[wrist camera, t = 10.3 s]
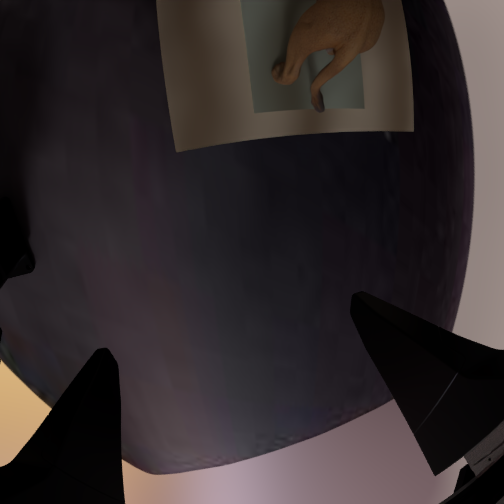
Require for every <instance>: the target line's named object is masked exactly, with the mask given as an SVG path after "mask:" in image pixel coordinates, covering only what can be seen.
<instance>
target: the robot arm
mask: <svg viewBox="0 0 504 504" xmlns="http://www.w3.org/2000/svg"><path fill="white" fill-rule="evenodd" d="M4 202H5V203H6V206H5V205H4ZM28 265H29V266H30V267H31V268H30V267H29V266H28ZM34 268H35V264H34V262H33V260H32V257H31V255H30V253H29V250H28V248H27V246H26V243H25V241H24V238H23V236H22V233H21V230H20V228H19V225H18V222H17V219H16V216H15V214H14V211H13V208H12V205H11V201H10V199H9V198H8V197H3V198H1V199H0V289H1V287H2V286H3V285H4V283H5V282H6V280H7V279H8V278H12V277H16V276H20V275H24V274H28V273H31V272H32V271H33V270H34ZM350 314H351V317H352V320H353V322H354V324H355V326H356V328H357V331H358V333H359V335H360V337H361V340H362V342H363V344H364V346H365V348H366V350H367V352H368V354H369V355H370V357H371V359H372V360H373V362H374V364H375V366H376V367H377V369H378V371H379V373H380V374H381V376H382V378H383V380H384V381H385V383H386V385H387V387H388V388H389V390H390V392H391V394H392V396H393V397H394V399H395V401H396V403H397V405H398V406H399V408H400V410H401V412H402V414H403V416H404V417H405V419H406V421H407V423H408V425H409V427H410V429H411V430H412V432H413V434H414V436H415V438H416V440H417V442H418V444H419V446H420V448H421V450H422V452H423V454H424V456H425V458H426V460H427V462H428V464H429V466H430V468H431V470H432V472H433V474H434V475H435V476H436V475H438V474H440V473H441V472H442V471H444V470H445V469H447V468H448V467H450V466H451V465H452V464H454V463H455V462H456V461H458V460H459V459H461V458H462V457H463V456H464V458H465V459H466V461H467V463H468V464H467V465H465V466H464V467H463V468H462V469H460V472H459V476H458V480H457V483H456V487H455V490H454V493H453V494H452V495H451V496H449V497H448V498H447V499H445V500H444V501H442V502H441V503H439V504H504V350H498V349H494V348H490V347H488V346H485V345H482V344H480V343H477V342H474V341H471V340H469V339H466V338H463V337H461V336H458V335H456V334H454V333H452V332H449V331H447V330H445V329H443V328H441V327H438V326H436V325H434V324H432V323H430V322H428V321H426V320H424V319H422V318H419V317H417V316H415V315H413V314H411V313H409V312H407V311H404V310H402V309H400V308H398V307H396V306H394V305H392V304H389V303H387V302H385V301H383V300H381V299H379V298H377V297H374V296H372V295H370V294H368V293H366V292H363V291H361V292H358V293H354V294H353V295H352V299H351V307H350ZM1 335H2V330H1V328H0V341H1ZM0 362H1V359H0ZM0 504H125V498H124V487H123V475H122V455H121V396H120V384H119V368H118V364H117V361H116V360H115V358H114V357H113V355H112V354H111V352H110V350H109V349H108V348H100V349H97V350H96V351H95V352H94V353H93V355H92V356H91V357H90V359H89V360H88V361H87V362H86V364H85V365H84V366H83V368H82V369H81V370H80V372H79V373H78V374H77V376H76V377H75V378H74V380H73V381H72V382H71V384H70V385H69V386H68V388H67V389H66V390H65V392H64V393H63V394H62V396H61V397H60V398H59V400H58V401H57V403H56V404H55V405H54V407H53V408H52V410H51V411H50V413H49V415H47V417H46V418H45V420H44V421H43V423H42V424H41V425H40V427H39V428H38V429H37V431H36V432H35V433H34V434H33V436H32V437H31V438H30V440H29V441H28V442H27V443H26V444H25V446H24V447H23V448H22V449H21V451H20V452H19V453H18V454H17V456H16V457H15V458H14V459H13V460H12V461H11V462H10V463H8V464H7V465H5V466H2V467H0Z"/></svg>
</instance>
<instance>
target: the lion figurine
mask: <svg viewBox="0 0 504 504" xmlns="http://www.w3.org/2000/svg"><path fill="white" fill-rule="evenodd" d="M384 21H385V11H384V7H383V4H382V1H381V0H316V3H315V4H313V5H312V6H311V7H310V8H309V9H307V10H306V11H305V12H304V13H303V14H302V16H301V17H300V18H299V20H298V22H297V24H296V25H295V27H294V29H293V31H292V33H291V36H290V39H289V42H288V47H287V56H286V62H280V63H279V64H276V65H275V66H274V67H273V68H272V71H271V74H272V77H273V79H274V81H275V82H277V83H279V84H283V85H290V84H292V83H293V82H295V80H297V79H298V77H299V74H300V71H301V66H302V64H303V62H304V61H305V59H306V58H307V57H308V56H309V55H310V54H311V53H313V52H315V51H321V50H324V49H325V50H326V52H327V54H329V55H334V58H333V60H332V61H331V62H330V63H329V64H327V65H326V66H325V67H324V68H323V69H322V70H321V71H320V72H319V73H318V75H317V76H316V77H315V79H314V80H313V82H312V84H311V87H310V91H311V104H312V105H313V107H314V109H315V110H316V111H317V112H318V113H322V112H324V111H325V106H324V102H323V95H322V93H321V91H320V88H321V86H322V85H324V84H325V83H326V82H327V81H328V80H330V79H331V78H333V77H334V76H335V75H337V74H338V73H339V72H341V71H342V70H343V69H344V68H345V67H346V66H347V65H348V64H349V63H351V62H352V61H353V60H354V58H355V57H356V56H357V55H358V54H359V53H363V52H366V51H368V50H370V49H371V48H372V47H373V46H374V45H375V44H376V43H377V41H378V39H379V37H380V34H381V30H382V27H383V24H384Z"/></svg>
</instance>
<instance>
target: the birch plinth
mask: <svg viewBox="0 0 504 504" xmlns="http://www.w3.org/2000/svg"><path fill="white" fill-rule="evenodd" d="M381 1H382V4H383V7H384V11H385V21H384V24H383V27H382V30H381V34H380V37H379V39H378V41H377V43H376V44H375V45H374V46H373V47H372V48H371V49H370V50H368V51H366V52H363V53H359V54H358V55H357V56H356V57H355V58H354V60H353V61H352V62H351V63H349V64H348V65H347V66H346V67H345V68H344V69H343V70H342V71H341V72H339V73H338V74H337V75H335V76H334V77H333V78H331V79H330V80H328V81H327V82H326V83H325V84H324V85H322V86H321V88H320V91H321V93H322V95H323V102H324V106H325V111H324V112H322V113H318V112H317V111H316V110H315V109H314V107H313V105H312V104H311V91H310V87H311V84H312V82H313V80H314V79H315V77H316V76H317V75H318V73H319V72H320V71H321V70H322V69H323V68H324V67H325V66H326V65H327V64H329V63H330V62H331V61H332V60H333V58H334V55H329V54H327V52H326V50H325V49H324V50H321V51H315V52H313V53H311V54H310V55H309V56H308V57H307V58H306V59H305V61H304V62H303V64H302V66H301V71H300V74H299V77H298V79H297V80H295V82H293V83H292V84H290V85H283V84H279V83H277V82H275V81H274V79H273V77H272V74H271V71H272V68H273V67H274V66H275V65H276V64H279V63H280V62H286V56H287V47H288V42H289V39H290V36H291V33H292V31H293V29H294V27H295V25H296V24H297V22H298V20H299V18H300V17H301V16H302V14H303V13H304V12H305V11H306V10H307V9H309V8H310V7H311V6H312V5H313V4H315V3H316V0H156V4H157V15H158V26H159V36H160V45H161V54H162V62H163V70H164V77H165V85H166V92H167V99H168V105H169V112H170V118H171V125H172V131H173V137H174V142H175V148H176V152H181V151H186V150H191V149H196V148H202V147H207V146H213V145H219V144H225V143H232V142H238V141H245V140H253V139H261V138H269V137H278V136H288V135H299V134H312V133H328V132H350V131H412V132H414V116H413V88H412V73H411V62H410V53H409V44H408V37H407V30H406V24H405V18H404V13H403V7H402V2H401V0H381Z"/></svg>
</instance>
